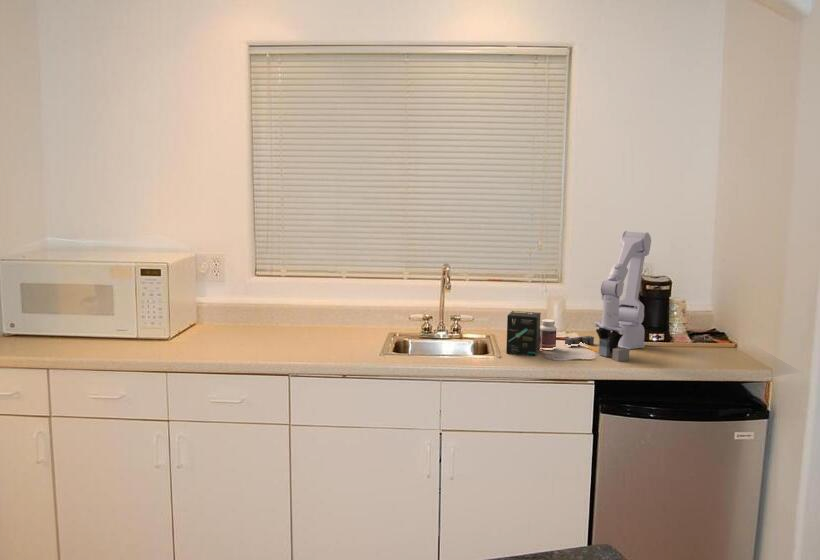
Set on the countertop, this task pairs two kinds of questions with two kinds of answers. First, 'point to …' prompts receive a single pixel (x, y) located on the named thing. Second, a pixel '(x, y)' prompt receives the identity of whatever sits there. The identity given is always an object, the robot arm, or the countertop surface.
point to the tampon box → (523, 333)
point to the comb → (580, 340)
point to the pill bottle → (547, 334)
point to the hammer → (615, 353)
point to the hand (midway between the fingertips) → (608, 349)
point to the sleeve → (605, 347)
